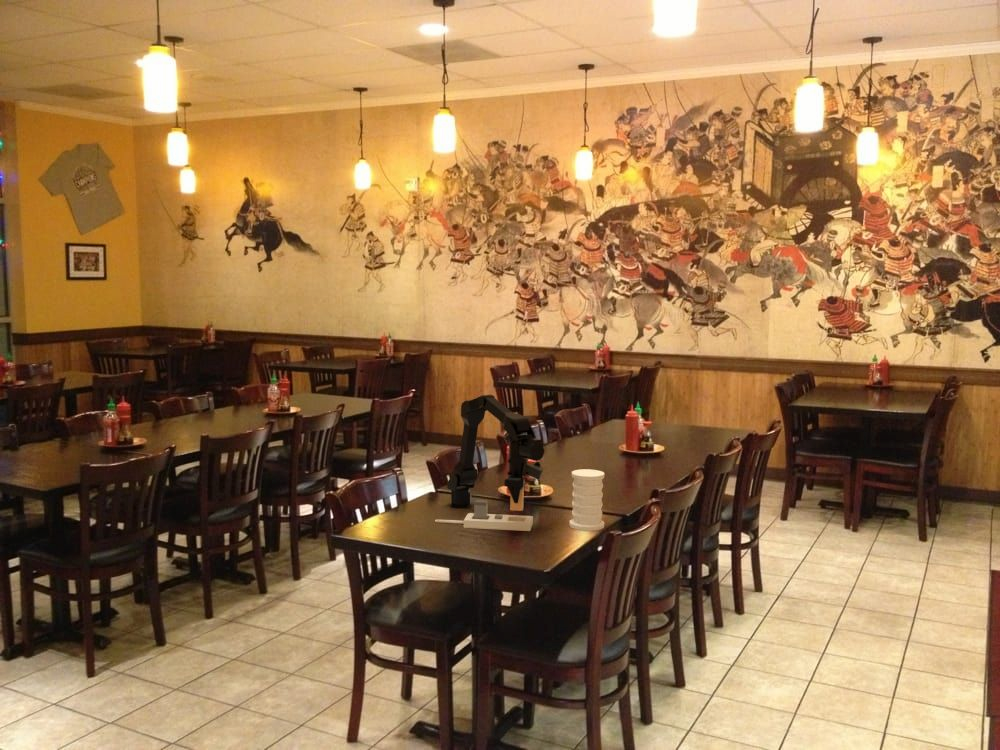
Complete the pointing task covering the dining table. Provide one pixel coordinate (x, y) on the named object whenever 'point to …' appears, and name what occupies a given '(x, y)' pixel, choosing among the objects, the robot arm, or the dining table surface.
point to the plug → (518, 505)
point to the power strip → (495, 522)
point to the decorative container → (587, 500)
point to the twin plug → (480, 509)
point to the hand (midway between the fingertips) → (516, 501)
